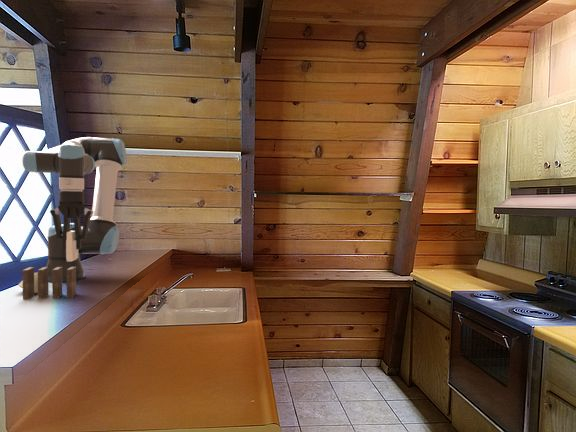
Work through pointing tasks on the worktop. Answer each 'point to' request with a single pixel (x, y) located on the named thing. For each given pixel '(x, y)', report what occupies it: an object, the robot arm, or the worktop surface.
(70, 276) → the domino
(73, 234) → the domino
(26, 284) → the domino
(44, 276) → the domino
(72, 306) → the worktop surface
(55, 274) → the domino
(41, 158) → the robot arm
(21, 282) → the seashell
